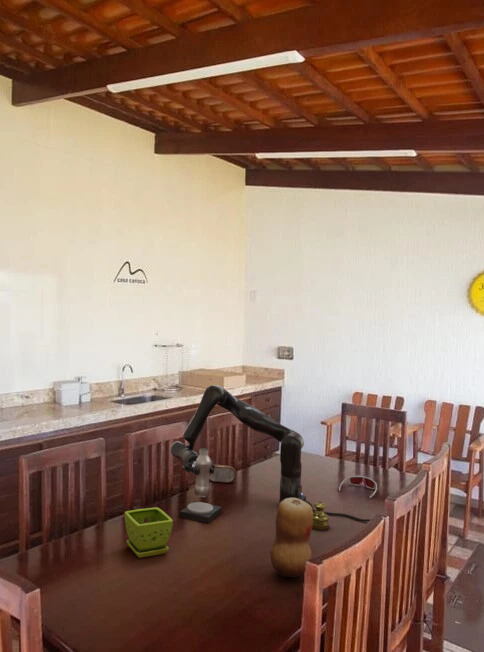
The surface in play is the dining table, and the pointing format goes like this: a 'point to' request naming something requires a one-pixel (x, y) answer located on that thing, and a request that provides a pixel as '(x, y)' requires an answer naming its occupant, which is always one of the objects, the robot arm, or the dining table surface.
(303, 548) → the butternut squash
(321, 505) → the golden figurine
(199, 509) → the kitchen scale
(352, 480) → the sunglasses
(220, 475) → the tin
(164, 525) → the flower pot
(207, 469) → the plastic bottle
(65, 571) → the dining table surface
